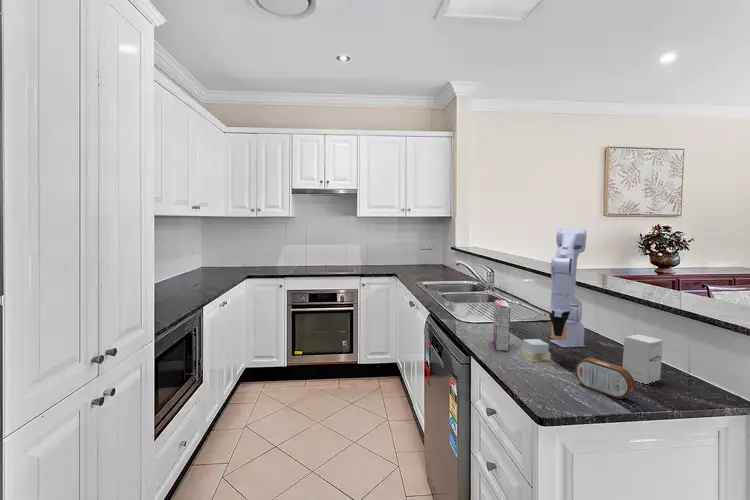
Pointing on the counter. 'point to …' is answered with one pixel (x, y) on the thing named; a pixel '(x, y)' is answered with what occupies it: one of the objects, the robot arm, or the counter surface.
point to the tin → (605, 377)
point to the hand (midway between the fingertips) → (558, 334)
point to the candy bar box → (501, 325)
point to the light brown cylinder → (560, 336)
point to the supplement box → (643, 358)
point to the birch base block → (536, 356)
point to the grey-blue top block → (535, 346)
